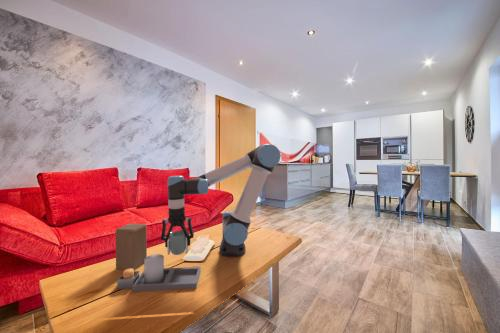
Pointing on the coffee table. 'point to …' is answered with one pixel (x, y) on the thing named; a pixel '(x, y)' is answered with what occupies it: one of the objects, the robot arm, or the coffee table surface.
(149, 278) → the billet
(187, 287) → the grey divided tray
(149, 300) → the coffee table surface
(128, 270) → the button
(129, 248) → the wooden block
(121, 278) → the button housing
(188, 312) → the coffee table surface
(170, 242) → the cup
